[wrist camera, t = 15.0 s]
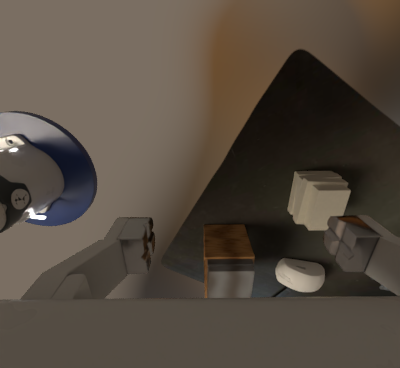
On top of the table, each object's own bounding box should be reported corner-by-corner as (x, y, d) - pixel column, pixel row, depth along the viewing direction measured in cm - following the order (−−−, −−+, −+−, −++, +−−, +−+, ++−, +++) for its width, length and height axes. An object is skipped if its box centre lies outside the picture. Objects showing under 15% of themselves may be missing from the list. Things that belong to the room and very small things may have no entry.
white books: (285, 210, 51) (295, 225, 45) (292, 169, 46) (305, 181, 41) (322, 210, 51) (337, 225, 45) (333, 169, 46) (351, 180, 41)
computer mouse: (279, 256, 57) (288, 275, 51) (324, 263, 58) (338, 282, 52) (271, 273, 59) (279, 293, 53) (314, 279, 60) (326, 300, 55)
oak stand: (203, 261, 57) (205, 310, 44) (203, 224, 52) (205, 268, 39) (240, 260, 57) (252, 310, 44) (244, 224, 52) (258, 268, 39)
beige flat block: (303, 223, 45) (308, 230, 43) (312, 184, 41) (318, 190, 39) (331, 222, 45) (338, 230, 43) (342, 184, 41) (351, 190, 39)
